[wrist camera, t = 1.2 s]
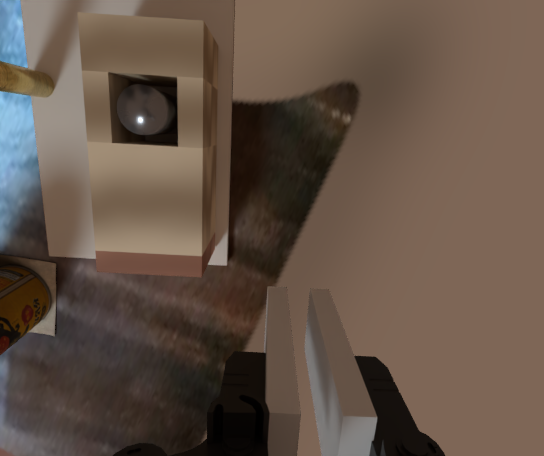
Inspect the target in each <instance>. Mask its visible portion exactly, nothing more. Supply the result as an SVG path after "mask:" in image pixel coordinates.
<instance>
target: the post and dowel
mask: <svg viewBox="0 0 544 456" xmlns="http://www.w3.org/2000/svg"><path fill="white" fill-rule="evenodd" d="M0 91H2V92H9V93H15V94H22V95H29V96H35V97H42V98H46V97H49V96H51V95H52V93H53V91H54V82H53V80H52V78H51V77H50V76H49V75H48V74H46V73H44V72H40V71H36V70H32V69H29V68H25V67H21V66H17V65H13V64H10V63H6V62H2V61H0ZM117 114H118V117H119V119H120V121H121V123H122V124H123V125H124V126H125V127H126V128H127V129H128V130H129V131H131V132H133V133H135V134H139V135H160V134H178V97H175V96H173V95H170V94H168V93H165V92H162V91H160V90H157V89H154V88H152V87H149V86H146V85H142V84H135V85H131V86H129V87H127V88H126V89H124V90H123V91H122V93H121V94H120V96H119V98H118V101H117Z"/></svg>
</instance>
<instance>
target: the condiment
mask: <svg viewBox="0 0 544 456" xmlns="http://www.w3.org/2000/svg"><path fill="white" fill-rule="evenodd" d="M55 318H56V263H50V262H45V261H39V260H33V259H27V258H22V257H15V256H7V255H0V355H1V354H2V353H3V352H5V351H6V350H7V349H8V348H10V347H11V346H12V345H13V344H14V343H16V342H17V341H18V340H19V339H20V338H22V337H23V336H24V335H25V334H26V333H27V332H35V333H40V334H48V335H52V336H55Z"/></svg>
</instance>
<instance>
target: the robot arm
mask: <svg viewBox="0 0 544 456" xmlns="http://www.w3.org/2000/svg"><path fill="white" fill-rule="evenodd" d="M305 355H306V361H307V367H308V373H309V379H310V386H311V392H312V398H313V404H314V410H315V417H316V422H317V429H318V435H319V441H320V447H321V454H322V456H445V454H444V452H443V451H442V450H441V448H440V447H439V445H438V444H437V443H436V442H435V441H434V440H432V439H431V438H430V437H429V436H427V435H426V434H424V433H422V432H420V431H419V430H418V428H417V426H416V424H415V422H414V420H413V418H412V416H411V414H410V412H409V410H408V408H407V406H406V404H405V402H404V400H403V398H402V396H401V394H400V393H399V391H398V388H397V386H396V384H395V382H393V378H392V376H391V374H390V372H389V370H388V368H387V367H386V366H385V365H384V364H383V363H382V362H381V361H380V360H378V359H377V358H376V357H366V356H354V354H353V352H352V349H351V346H350V344H349V341H348V338H347V336H346V333H345V330H344V328H343V325H342V322H341V320H340V317H339V315H338V312H337V310H336V307H335V304H334V302H333V299H332V296H331V293H330V291H329V289H310V295H309V306H308V317H307V328H306V338H305ZM300 416H301V412H300V402H299V393H298V385H297V375H296V367H295V357H294V348H293V340H292V330H291V321H290V313H289V304H288V294H287V287H270V286H268V290H267V307H266V323H265V340H264V353H257V352H237V351H235V352H234V353H233V354H232V355H231V356H230V357H229V359H228V360H227V361H226V365H225V370H224V376H223V381H222V386H221V391H220V396H219V397H218V398H216V399H215V400H214V401H213V402H212V403H211V405H210V407H209V410H208V412H207V439H206V440H205V441H204V442H203V443H201V444H200V445H198V446H197V447H195V448H193V449H191V450H188V451H186V452H182V453H178V454H175V455H171V456H297V449H298V437H299V427H300ZM113 456H167V454H166V453H165V452H164V451H163V449H162V448H160V447H158V446H156V445H154V444H148V443H138V444H135V445H131V446H127V447H125V448H124V449H122V450H120V451H119V452H117V453H115V454H114V455H113Z"/></svg>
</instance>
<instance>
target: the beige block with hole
mask: <svg viewBox="0 0 544 456" xmlns="http://www.w3.org/2000/svg"><path fill="white" fill-rule="evenodd" d="M77 14H78V27H79V40H80V54H81V67H82V80H83V93H84V107H85V120H86V133H87V147H88V160H89V173H90V186H91V200H92V213H93V226H94V239H95V253H96V266H97V272H109V273H128V274H148V275H168V276H187V277H202V276H203V273H204V271H205V269H206V267H207V265H208V263H209V261H210V258H211V256H212V254H213V252H214V250H215V216H216V158H217V100H218V44H217V43H216V41H215V39H214V37H213V36H212V34H211V32H210V31H209V29H208V27H207V26H206V24H205V22H204V21H201V20H186V19H171V18H156V17H141V16H126V15H111V14H96V13H81V12H77ZM135 84H142V85H147V86H163V87H177V97H178V143H176V142H159V141H145V135H139V134H135V133H133V132H131V131H129V130H128V129H127V128H126V127H125V126H124V125H123V124H122V123H121V121H120V119H119V117H118V114H117V101H118V98H119V96H120V94H121V93H122V91H123V90H124V89H126V88H127V87H129V86H131V85H135Z"/></svg>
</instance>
